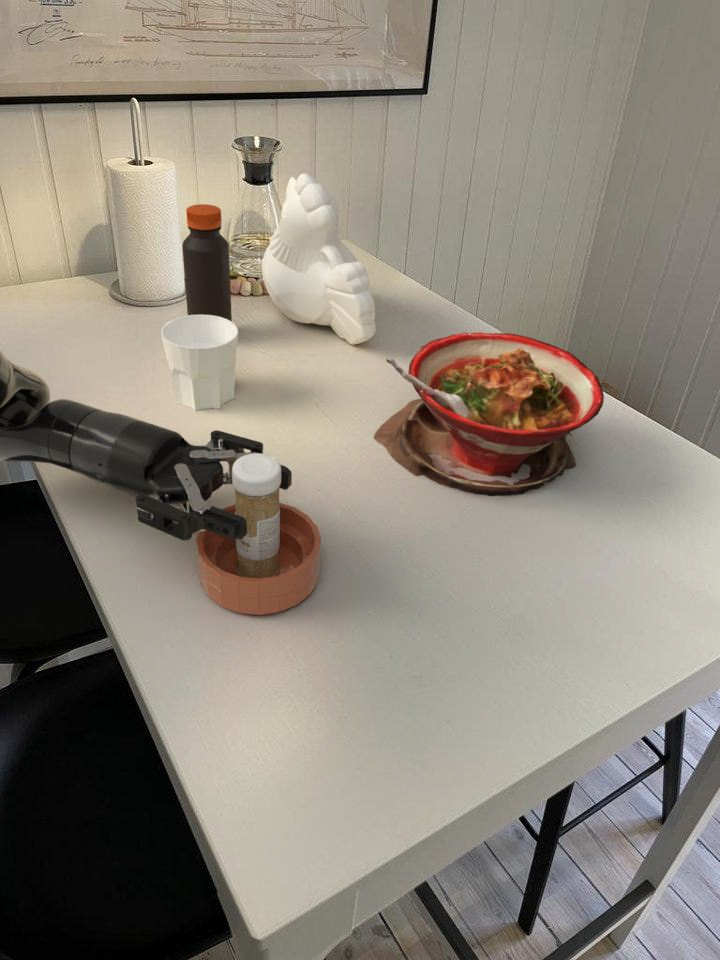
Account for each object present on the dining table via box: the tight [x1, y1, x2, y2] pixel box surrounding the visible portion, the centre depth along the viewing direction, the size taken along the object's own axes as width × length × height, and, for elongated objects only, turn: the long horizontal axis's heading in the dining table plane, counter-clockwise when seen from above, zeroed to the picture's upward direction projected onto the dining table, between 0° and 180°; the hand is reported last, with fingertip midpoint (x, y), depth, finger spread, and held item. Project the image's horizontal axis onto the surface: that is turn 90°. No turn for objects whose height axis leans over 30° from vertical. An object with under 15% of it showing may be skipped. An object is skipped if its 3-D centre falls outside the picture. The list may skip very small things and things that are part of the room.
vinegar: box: [181, 203, 233, 322], centre depth 114 cm, size 7×7×20 cm
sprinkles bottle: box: [232, 453, 281, 578], centre depth 74 cm, size 5×5×13 cm
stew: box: [373, 332, 605, 497], centre depth 94 cm, size 28×24×16 cm
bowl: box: [196, 502, 322, 616], centre depth 77 cm, size 12×12×5 cm
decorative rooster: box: [261, 172, 377, 346], centre depth 118 cm, size 25×16×25 cm
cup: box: [160, 314, 239, 412], centre depth 103 cm, size 10×10×10 cm
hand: (268, 503), depth 72 cm, fingers open, 8 cm apart
